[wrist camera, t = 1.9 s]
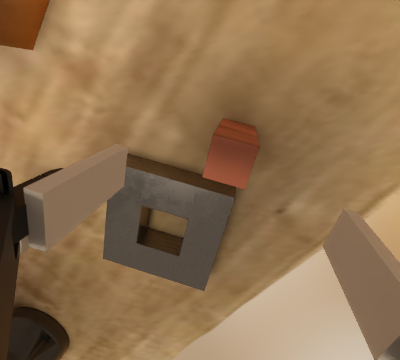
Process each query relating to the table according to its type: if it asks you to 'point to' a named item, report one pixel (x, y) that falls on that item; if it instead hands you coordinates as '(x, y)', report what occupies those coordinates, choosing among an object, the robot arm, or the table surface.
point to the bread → (21, 22)
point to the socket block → (173, 204)
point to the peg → (232, 153)
